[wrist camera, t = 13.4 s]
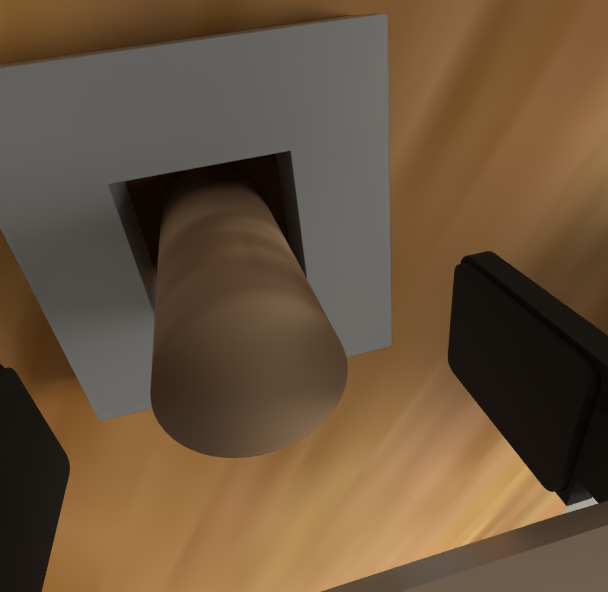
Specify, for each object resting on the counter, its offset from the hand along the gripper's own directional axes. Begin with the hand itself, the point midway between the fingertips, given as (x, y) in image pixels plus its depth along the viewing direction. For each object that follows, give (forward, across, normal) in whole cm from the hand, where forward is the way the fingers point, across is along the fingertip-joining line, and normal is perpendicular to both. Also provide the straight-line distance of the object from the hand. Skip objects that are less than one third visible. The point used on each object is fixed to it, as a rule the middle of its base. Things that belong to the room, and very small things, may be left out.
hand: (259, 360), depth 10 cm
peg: (+9, 0, 0) cm, 9 cm away
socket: (+9, 0, 0) cm, 9 cm away
